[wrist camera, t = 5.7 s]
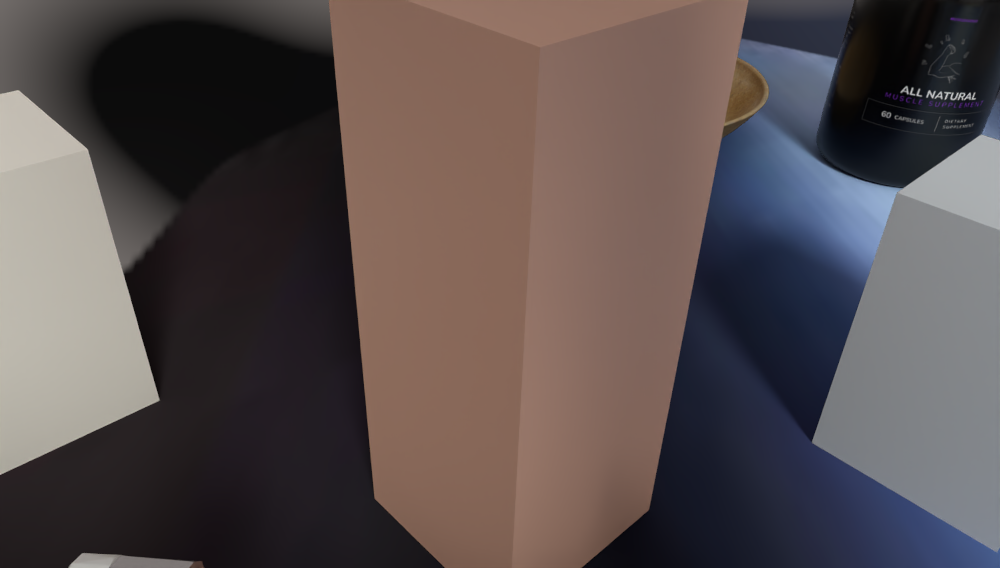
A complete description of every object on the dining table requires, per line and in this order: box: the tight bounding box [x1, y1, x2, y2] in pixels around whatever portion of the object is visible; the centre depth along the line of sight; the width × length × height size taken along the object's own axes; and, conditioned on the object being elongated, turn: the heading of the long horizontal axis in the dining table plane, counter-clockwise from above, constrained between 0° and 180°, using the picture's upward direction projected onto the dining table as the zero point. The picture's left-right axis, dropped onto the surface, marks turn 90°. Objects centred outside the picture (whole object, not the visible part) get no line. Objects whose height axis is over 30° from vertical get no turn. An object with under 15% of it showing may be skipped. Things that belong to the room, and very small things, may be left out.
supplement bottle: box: [816, 0, 1000, 187], centre depth 35 cm, size 7×7×12 cm
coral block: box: [329, 0, 748, 568], centre depth 17 cm, size 5×5×13 cm
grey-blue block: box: [812, 135, 1000, 552], centre depth 21 cm, size 5×5×8 cm
